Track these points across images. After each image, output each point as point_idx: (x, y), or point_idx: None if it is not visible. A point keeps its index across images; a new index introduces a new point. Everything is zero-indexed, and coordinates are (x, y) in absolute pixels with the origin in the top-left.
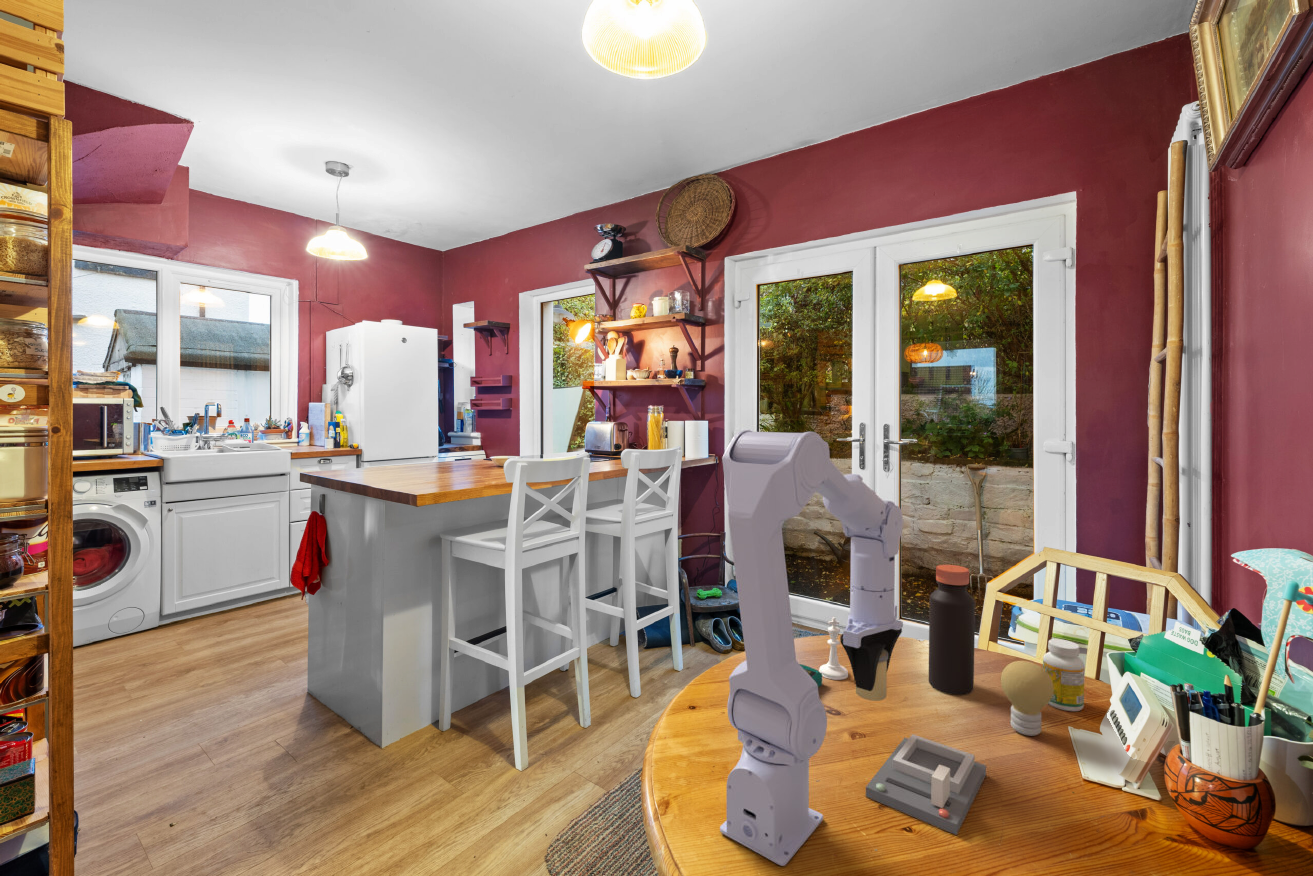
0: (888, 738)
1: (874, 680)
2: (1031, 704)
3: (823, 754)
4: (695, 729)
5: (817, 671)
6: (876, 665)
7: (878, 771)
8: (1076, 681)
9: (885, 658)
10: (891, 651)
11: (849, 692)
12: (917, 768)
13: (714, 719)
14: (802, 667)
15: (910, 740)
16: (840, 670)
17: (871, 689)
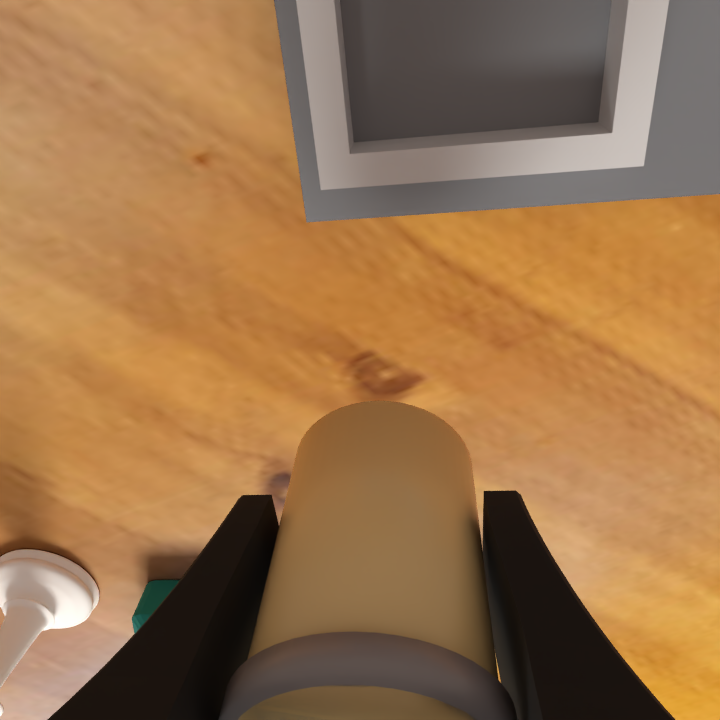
0: (306, 283)
1: (513, 539)
2: None
3: (601, 408)
4: (691, 685)
5: None
6: (556, 655)
7: (692, 193)
8: None
9: (394, 661)
10: (148, 657)
11: (112, 507)
12: (665, 20)
13: None
14: None
15: (392, 171)
16: (29, 584)
17: (520, 498)
